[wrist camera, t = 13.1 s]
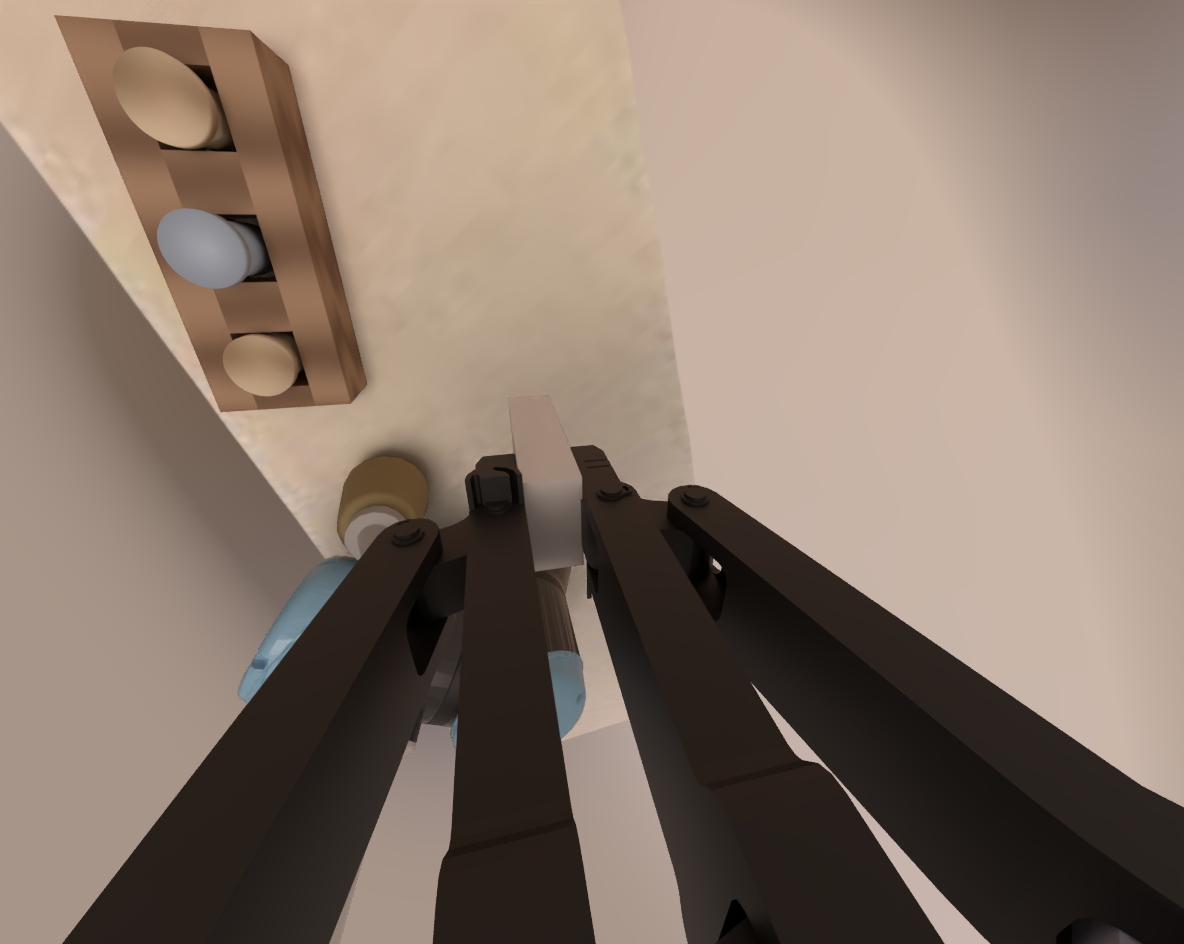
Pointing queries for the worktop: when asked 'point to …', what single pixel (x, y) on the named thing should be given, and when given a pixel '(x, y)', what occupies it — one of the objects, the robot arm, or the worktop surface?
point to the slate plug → (212, 248)
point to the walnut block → (233, 203)
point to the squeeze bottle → (379, 500)
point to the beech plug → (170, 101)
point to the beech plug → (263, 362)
